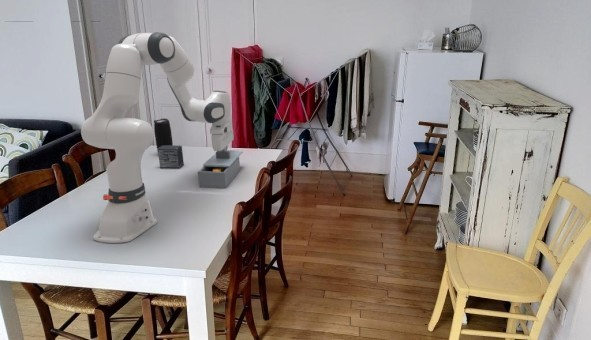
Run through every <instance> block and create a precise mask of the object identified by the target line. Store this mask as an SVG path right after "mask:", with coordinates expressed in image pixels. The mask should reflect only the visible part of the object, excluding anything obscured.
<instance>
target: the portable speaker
mask: <svg viewBox="0 0 591 340" xmlns="http://www.w3.org/2000/svg"><path fill="white" fill-rule="evenodd" d="M153 126H154V127H153V131H154V138H155V139H154V140H155V145H156V149H157V150H156V151H157V152H158V148H159V147H161V146H162V145H170V146H174V143H173V136H172V135H173V134H172V128H171V127H172V126H171V124H170V120H169V119H168V118H161V119H154V120H153Z"/></svg>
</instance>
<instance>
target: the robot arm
mask: <svg viewBox="0 0 591 340" xmlns="http://www.w3.org/2000/svg"><path fill="white" fill-rule="evenodd" d="M158 64H159V65H160V67H161V69H162V70H163V71H164V73H165V76H167V84H168V85H169V87H170V89H171V91H172V93H173V95H174V96H175V97H174V98H175V99H176V101H177V102H178V105H179V108H180V110H181V111H180V112H181V115H182V117H183V118H184V119H185V120H186V121H188V122H198V123H205V124H211V127H210V128H209V134H210V135H211V137H210V138H211V145H212V149H213V151H214V152H217V151H227V150H229V149H228V148H229V144H230V143H231V142H233V141H234V138H235V137H234V129H233V118H232V114H231V113H232V103H231V99H230V95H229V92H227V91H224V90H223V91H222V90H212V91H211V93H210V96H209V97H208V98H206V99H205V100H202V99H197V98H195V97H193V96H192V95H191V93H190V91H189V89H188V87H187V85H186V84H187V83H189V82H190V81H191V79H192V78H193V76H194V72H195V67H194V64H193V62H192V60H191V59H190V57H189V56H188V54H187V52H186V51H185V50H184V48H183V47H182V46H181V44H180V43H179V42H178V41H177V39H176V38H174V37H173V36H170V35H167V34H166V33H163V32H159V31H156V32H155V31H154V32H139V33H134V34H127V35H125V36H123V37H122V38H121V39H119V41H118V43H117V44H114V45H113V46H112V47H111V49H110V52H109V56H108V59H107V63H106V69H105V77H104V78H105V79H104V85H103V92H102V96H101V100H100V102H99V104H98V106H97V108H96V109H95V111H94V112H93V113H92V114H91V116H89V117H88V118H86V119H85V120H84V121H83V123H82V125H81V128H80V134H81V137H82V141H84V142H85V143H86V144H87V145H89V146H92V147H95V148H99V149H105V150H106V149H109V150H114V151H115V158H114V159H113V160H112V161H110V163H109V164H108V165H107V166H106V170H105V171H106V172H105V173H106V176H107V181H108V187H109V188H108V192H107V194H103V196H102V200H103V201H108V202H107V204H106V205H105V208H104V209H103V212H102V214H101V215H100V218H99V221H98V225H99V228H98V229H97V231H96V232H95V233H94V235H93V238H92V239H93V241H94V240H95V241H96V242H100V243H105V244H106V243H108V244H120V243H121V244H123V243H128V242H131V241H133V240H134V239H136V238H137V237H139V236H140V235H141V234H143V233H145V232H146V231H147V230H149V229H150V228H152V227H153V226H154V225H156V224H157V223H158V221H157V219H156V218H155V217H154V214H153V210H152V205H151V203H150V202H151V201H150V200H149V199H148V197H147V196H146V186H145V183H144V182H143V177H142V167H141V165H142V158H143V155H144V153H145V152H146V150H148V149H149V147H151V146H152V143H153V142H154V140H155V139H154V138H155V132H154V127H153V125H151V123H150V122H148V121H145V120H143V119H138V118H136V117H135V118H134V117H125V116H126V114H127V112H128V111H129V110H130V109H131V108H132V107H134V106H136V105H137V104H138V102H139V98H140V90H141V79H142V67H143V66H144V65H145V66H151V65H158Z"/></svg>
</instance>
